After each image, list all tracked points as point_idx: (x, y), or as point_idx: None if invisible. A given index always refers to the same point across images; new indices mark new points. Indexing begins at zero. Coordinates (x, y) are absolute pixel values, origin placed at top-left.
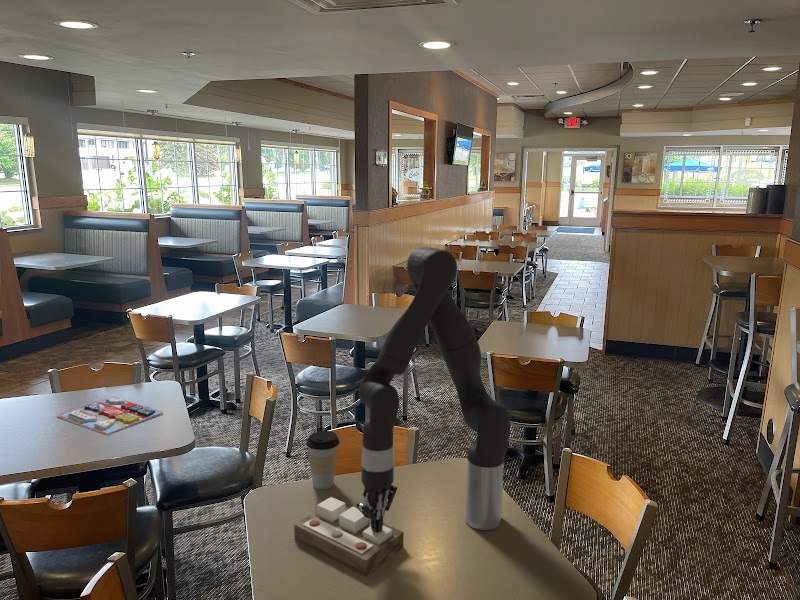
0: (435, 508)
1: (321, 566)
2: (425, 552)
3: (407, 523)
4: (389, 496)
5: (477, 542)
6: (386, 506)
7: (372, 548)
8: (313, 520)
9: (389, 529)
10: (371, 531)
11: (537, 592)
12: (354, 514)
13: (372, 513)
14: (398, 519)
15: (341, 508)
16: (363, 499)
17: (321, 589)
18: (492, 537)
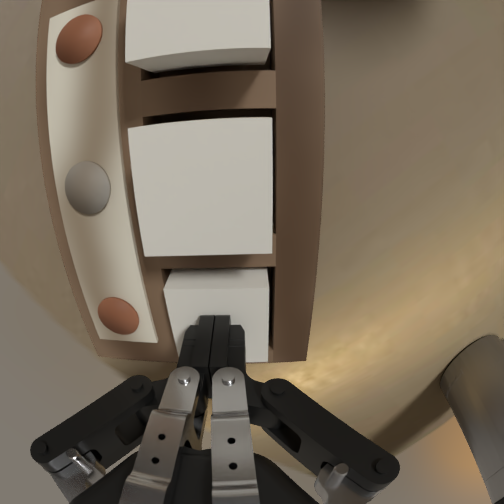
0: (500, 266)
1: (45, 198)
2: (311, 368)
3: (419, 253)
4: (311, 465)
5: (399, 400)
6: (269, 431)
7: (148, 343)
8: (87, 18)
9: (260, 355)
10: (193, 316)
11: (309, 473)
12: (200, 197)
13: (134, 442)
14: (427, 215)
15: (227, 52)
16: (65, 494)
17: (16, 268)
18: (423, 402)
